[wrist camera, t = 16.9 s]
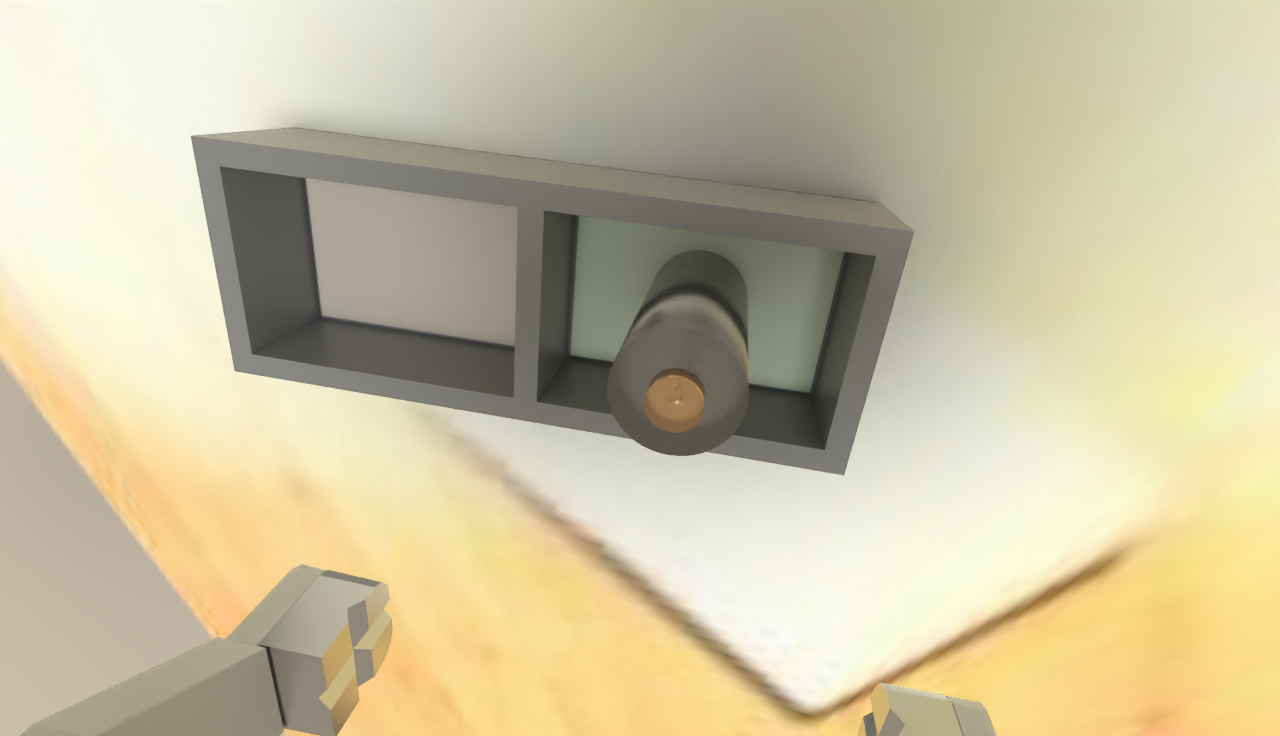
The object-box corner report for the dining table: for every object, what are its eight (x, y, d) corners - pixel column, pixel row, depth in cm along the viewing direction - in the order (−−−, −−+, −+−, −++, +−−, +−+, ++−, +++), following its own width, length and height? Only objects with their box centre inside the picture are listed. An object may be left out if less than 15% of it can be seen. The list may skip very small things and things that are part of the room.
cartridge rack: (293, 127, 29) (190, 135, 24) (879, 202, 27) (914, 231, 21) (317, 325, 34) (234, 371, 28) (826, 407, 31) (843, 475, 25)
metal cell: (656, 243, 28) (608, 326, 18) (755, 258, 27) (761, 350, 18) (645, 335, 30) (596, 455, 20) (738, 350, 29) (734, 480, 19)
